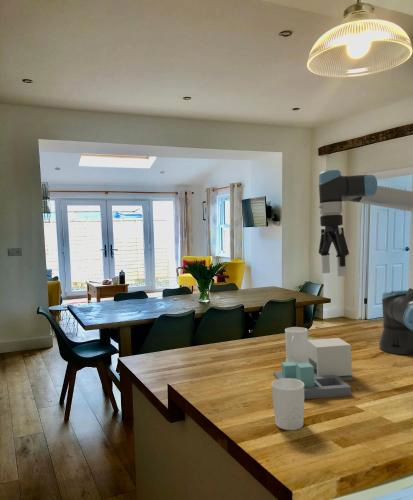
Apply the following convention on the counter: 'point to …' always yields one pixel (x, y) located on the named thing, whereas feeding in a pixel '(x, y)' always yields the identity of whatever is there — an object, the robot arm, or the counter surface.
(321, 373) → the cover
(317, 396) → the socket board
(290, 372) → the board
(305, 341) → the mug
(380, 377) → the counter surface
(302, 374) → the peg
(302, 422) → the white cup
